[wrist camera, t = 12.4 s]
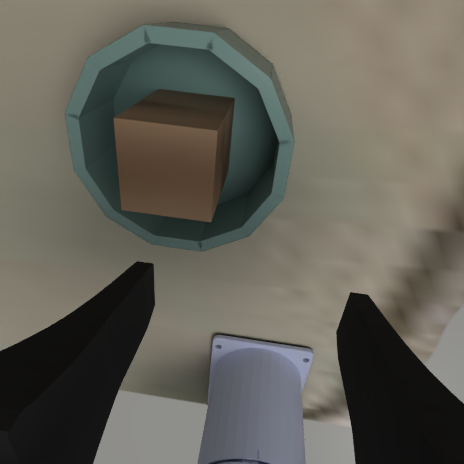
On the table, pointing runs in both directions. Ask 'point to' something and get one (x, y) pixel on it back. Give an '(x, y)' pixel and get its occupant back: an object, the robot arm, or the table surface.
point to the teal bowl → (193, 81)
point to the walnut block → (174, 153)
